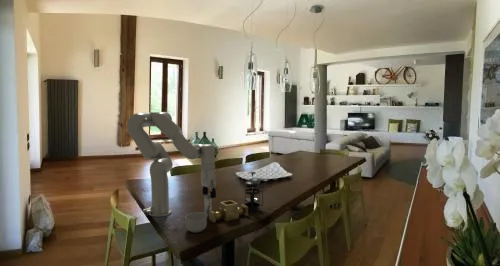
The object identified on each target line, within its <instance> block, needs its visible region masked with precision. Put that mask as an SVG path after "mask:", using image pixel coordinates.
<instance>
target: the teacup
mask: <svg viewBox="0 0 500 266" xmlns="http://www.w3.org/2000/svg"><path fill="white" fill-rule="evenodd" d="M208 217H209V216H208V214H207V212H204V211H200V212H199V211H196V212H190V213H187V214H186V215H185V216H184V219H185V227H186V229H187V231H189V232H191V233H196V234H197V233H200V232H203V231H204V230H205V229H206V228H207V224H208Z"/></svg>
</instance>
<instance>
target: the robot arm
mask: <svg viewBox="0 0 500 266" xmlns="http://www.w3.org/2000/svg"><path fill="white" fill-rule="evenodd" d="M149 127H155V128H157V129H158V130H159V131H161V133H163V134H164V135H165V137H167V138H168V139H169V140H170V141H171V143H172V144H173V146H174V148H175V149H176V150H177V151H178V152H180V153H181V154H182V155H183V156H184V157H185V158H187V159H189V160H195V159H196V158H198V157H200V159H201V160H200V163H201V173H200V184H201V187H202V195H204V194H210V198H211V199H215V198H216V197H217V194H216V193H217V186H218V185H217V183H216V181H217V180H216V172H215V171H216V170H215V169H216V163H215V162H216V161H215V159H216V158H215V157H216V156H215V146H214V145H213V144H210V143H206V144H203V143H201V144H200V143H193V144H192V143H191V142H189V140H187V138H186V137H185V136H184V134H183V130H182V127H180V126H179V125H178V124H177V123H175V121H173V117H172V116H171V114H170V113H168V112H166V111H158V112H156V111H154V112H153V111H148V112H147V111H146V112H143V111H142V112H136V113H134V114H132V115H131V116H130V117H129V118H128V120H127V126H126V128H127V132H128V134H129V136H130V137H131V139H132V140H133V142H134V143H135V145H136V147H137V148H138V150H139V153H141V155H142V157H143V158H144V159H146V160H148V161H150V160H153V161H152V163H151V164H150V166H149V175H150V185H151V186H150V188H151V205H150V206H149V207H148V208H143V210H142V211H143V213H147V214H148V215H149V216H151V217H153V218H155V217H156V218H160V217H166V216H169V215H171V214H172V212H173V211H172V209H171V208H170V205H169V203H170V202H169V201H170V200H169V199H170V198H169V195H170V194H169V191H170V190H169V176H168V173H169V172H170V171H171V170H172V169H173V164H174V163H173V160H172V159H171V157H170V155H169V154H168V152H167V150H166V149H165V147H164V146H163V145H162V143H160V142H158V141H153V140H152V139H151V137H150V135H149V134H148V133H147V131H146V130H145V128H149ZM209 189H210V192H209Z"/></svg>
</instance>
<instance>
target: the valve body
mask: <svg viewBox="0 0 500 266" xmlns="http://www.w3.org/2000/svg"><path fill="white" fill-rule="evenodd" d="M238 204H239V203H238V202H236V201H233V200H231V199H229V200H223V201H220V202H219V208H218V211H216V212H215V211H213V210H212V209H211V210H210V211H209V216H208V221H210V222H212V223H213V224H215V223H216V222H217V220H223V221H225V222H229V221H233V220H238V219H239V218H240V217H239V216H240V215H243V216H245V217H247V216H249V212H248V206H246V205H245V203H244V204H243V203H242V204H240V207H239V205H238Z"/></svg>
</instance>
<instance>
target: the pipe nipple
mask: <svg viewBox="0 0 500 266" xmlns="http://www.w3.org/2000/svg"><path fill="white" fill-rule="evenodd" d="M203 201H204V202H203V203H204V204H203V205H204V206H203V207H204V209H203V210H204V211H203V212H207V214H208V216H207V217H209V211H210V210H212V198H210V193H208V194H204V199H203Z"/></svg>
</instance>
